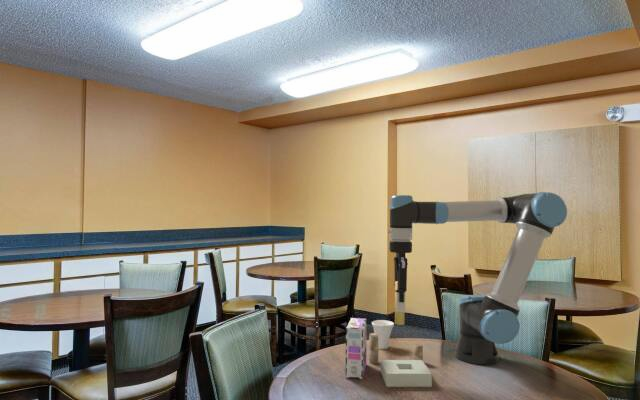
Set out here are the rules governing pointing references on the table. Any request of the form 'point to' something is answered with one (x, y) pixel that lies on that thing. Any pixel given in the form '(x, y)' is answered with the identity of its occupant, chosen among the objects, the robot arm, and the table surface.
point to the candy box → (356, 348)
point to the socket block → (406, 373)
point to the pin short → (418, 352)
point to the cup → (383, 332)
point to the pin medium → (373, 348)
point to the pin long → (398, 315)
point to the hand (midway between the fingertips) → (399, 310)
